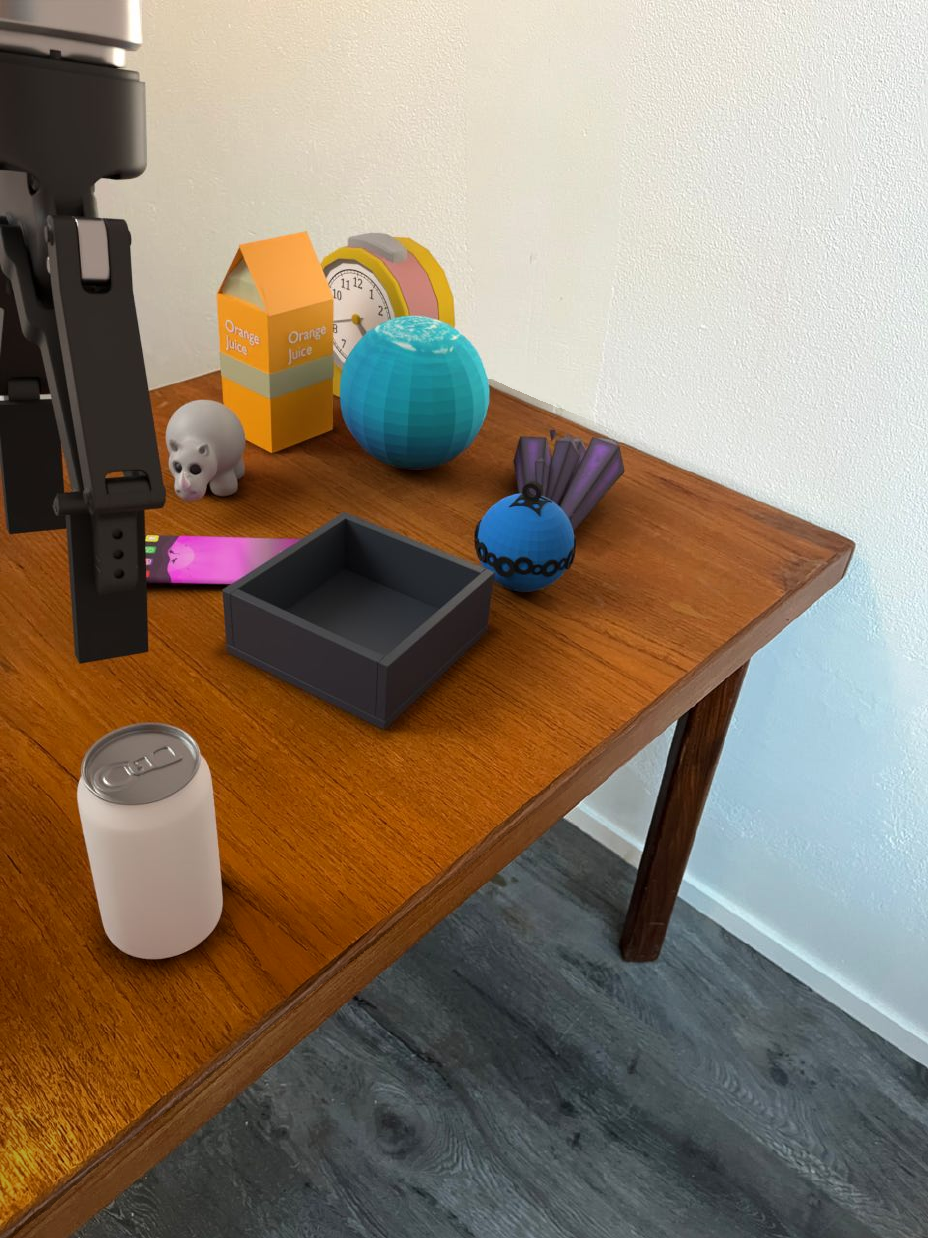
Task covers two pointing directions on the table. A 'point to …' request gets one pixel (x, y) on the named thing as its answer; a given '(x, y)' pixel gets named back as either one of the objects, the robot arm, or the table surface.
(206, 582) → the smartphone
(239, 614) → the tray
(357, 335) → the alarm clock
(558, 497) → the crystal
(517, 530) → the ornament
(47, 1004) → the table surface
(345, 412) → the decorative orb
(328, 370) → the orange juice
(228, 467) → the chubby cartoon animal
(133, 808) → the can
